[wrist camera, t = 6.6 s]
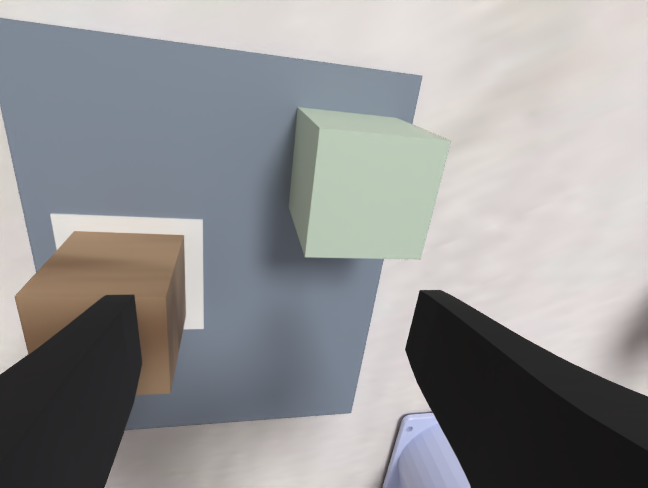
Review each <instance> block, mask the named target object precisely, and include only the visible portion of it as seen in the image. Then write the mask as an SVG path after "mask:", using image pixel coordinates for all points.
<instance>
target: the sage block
mask: <svg viewBox="0 0 648 488" xmlns="http://www.w3.org/2000/svg"><path fill="white" fill-rule="evenodd" d="M450 143H451V140H448V139H446V138H443V137H441V136H439V135H436V134H434V133H432V132H429V131H427V130H424V129H422V128H420V127H417V126H415V125H412V124H410V123H408V122H405V121H403V120H401V119H398V118H394V117H385V116H376V115H366V114H357V113H348V112H339V111H329V110H320V109H311V108H302V107H298V108H297V119H296V131H295V142H294V153H293V164H292V175H291V186H290V197H289V210H290V213H291V216H292V219H293V222H294V225H295V228H296V231H297V234H298V237H299V241H300V244H301V247H302V250H303V253H304V256H305V257H317V258H368V259H420V260H421V256H422V252H423V248H424V244H425V240H426V236H427V232H428V229H429V225H430V221H431V217H432V213H433V209H434V205H435V201H436V197H437V194H438V190H439V186H440V182H441V178H442V174H443V170H444V166H445V162H446V159H447V155H448V151H449V147H450Z"/></svg>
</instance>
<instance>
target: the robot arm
mask: <svg viewBox="0 0 648 488" xmlns="http://www.w3.org/2000/svg"><path fill="white" fill-rule="evenodd" d="M405 351H406V353H407V356H408V359H409V362H410V365H411V368H412V371H413V373H414V376H415V378H416V381H417V383H418V385H419V387H420V389H421V391H422V393H423V395H424V397H425V399H426V401H427V403H428V405H429V407H430V408H431V410H432V412H433V413H424V414H411V415H407V416H405V417H404V418H403V420H402V422H401V426H400V429H399V433H398V436H397V440H396V443H395V446H394V450H393V453H392V457H391V460H390V464H389V467H388V470H387V474H386V477H385V481H384V484H383V488H648V396H645V395H643V394H640V393H638V392H635V391H633V390H630V389H628V388H625V387H623V386H621V385H618V384H616V383H614V382H611V381H609V380H607V379H604V378H602V377H600V376H598V375H596V374H594V373H592V372H589V371H587V370H585V369H583V368H581V367H579V366H576V365H574V364H572V363H570V362H568V361H566V360H564V359H562V358H560V357H558V356H556V355H555V354H553V353H551V352H549V351H547V350H545V349H543V348H542V347H540V346H538V345H536V344H534V343H532V342H530V341H529V340H527V339H525V338H523V337H522V336H520V335H518V334H516V333H515V332H513V331H511V330H509V329H508V328H506V327H504V326H503V325H501V324H499V323H498V322H496V321H494V320H493V319H491V318H489V317H488V316H486V315H484V314H483V313H481V312H479V311H477V310H476V309H474V308H472V307H471V306H469V305H467V304H466V303H464V302H462V301H460V300H459V299H457V298H455V297H453V296H451V295H450V294H448V293H445V292H443V291H441V290H420V292H419V296H418V300H417V304H416V308H415V312H414V316H413V320H412V324H411V328H410V332H409V336H408V340H407V344H406V348H405ZM141 367H142V355H141V347H140V338H139V330H138V321H137V313H136V304H135V295H134V294H133V295H105V296H104V297H102V298H101V299H99V300H98V301H97V302H96V303H94V304H93V305H92V306H90V307H89V308H88V309H87V310H85V311H84V312H83V313H82V314H80V315H79V316H78V317H77V318H75V319H74V320H73V321H72V322H70V323H69V324H68V325H67V326H65V327H64V328H63V329H62V330H60V331H59V332H58V333H56V334H55V335H54V336H52V337H51V338H50V339H49V340H47V341H46V342H45V343H43V344H42V345H41V346H40V347H38V348H37V349H36V350H34V351H33V352H31V353H30V354H29V355H27V356H26V357H24V358H23V359H22V360H20V361H19V362H17V363H16V364H15V365H13V366H12V367H10V368H9V369H7V370H6V371H5V372H3V373H2V374H0V488H104V487H105V484H106V482H107V479H108V476H109V473H110V470H111V467H112V465H113V462H114V459H115V456H116V453H117V450H118V447H119V445H120V442H121V439H122V436H123V433H124V430H125V427H126V425H127V422H128V419H129V416H130V413H131V410H132V407H133V404H134V400H135V396H136V391H137V387H138V382H139V377H140V372H141Z"/></svg>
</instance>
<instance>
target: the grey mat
mask: <svg viewBox="0 0 648 488" xmlns="http://www.w3.org/2000/svg"><path fill="white" fill-rule="evenodd" d="M421 80H422V76H420V75H413V74H405V73H398V72H391V71H384V70H376V69H369V68H362V67H354V66H347V65H340V64H332V63H325V62H318V61H310V60H303V59H296V58H289V57H281V56H274V55H267V54H259V53H252V52H245V51H237V50H230V49H223V48H215V47H208V46H201V45H194V44H186V43H179V42H172V41H164V40H157V39H150V38H142V37H135V36H128V35H120V34H113V33H106V32H99V31H91V30H84V29H77V28H69V27H62V26H55V25H47V24H40V23H33V22H25V21H18V20H11V19H3V18H0V107H1V111H2V116H3V120H4V125H5V130H6V134H7V139H8V144H9V148H10V153H11V158H12V162H13V167H14V171H15V176H16V181H17V185H18V190H19V195H20V199H21V204H22V209H23V213H24V218H25V222H26V227H27V232H28V236H29V241H30V246H31V250H32V255H33V260H34V264H35V269H36V273H37V271H38V270H39V269H40V268H41V267H42V266H43V265H44V264H45V263H46V262H47V260H48V259H49V258H50V257H51V256H52V255H53V254H54V253H55V252H56V251H57V250H58V248H59V247H60V246H61V245H62V244H63V243H64V242H65V241H66V240H67V239H68V237H69V236H70V235H71V234H72V233H73V232H74V231H86V232H114V233H142V234H170V235H184V253H185V295H186V318H185V323H184V328H183V333H182V338H181V343H180V348H179V353H178V358H177V363H176V368H175V373H174V379H173V384H172V389H171V393H170V394H151V395H136V396H135V400H134V404H133V407H132V410H131V413H130V416H129V419H128V422H127V425H126V427H125V430H133V429H146V428H160V427H173V426H186V425H199V424H213V423H226V422H239V421H253V420H266V419H279V418H292V417H306V416H319V415H332V414H346V413H351V411H352V406H353V402H354V397H355V392H356V387H357V383H358V378H359V373H360V368H361V364H362V359H363V354H364V350H365V345H366V340H367V335H368V331H369V326H370V321H371V317H372V312H373V307H374V302H375V298H376V293H377V288H378V283H379V279H380V274H381V269H382V265H383V260H384V259H368V258H317V257H305V256H304V253H303V250H302V247H301V244H300V241H299V237H298V234H297V231H296V228H295V225H294V222H293V219H292V216H291V213H290V210H289V197H290V186H291V175H292V164H293V153H294V142H295V131H296V119H297V108H298V107H302V108H311V109H320V110H329V111H339V112H348V113H357V114H366V115H376V116H385V117H394V118H398V119H401V120H403V121H405V122H408V123H410V124H412V123H413V118H414V114H415V109H416V104H417V99H418V95H419V90H420V85H421Z"/></svg>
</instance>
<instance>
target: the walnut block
mask: <svg viewBox="0 0 648 488" xmlns="http://www.w3.org/2000/svg"><path fill="white" fill-rule="evenodd" d="M133 294H134V295H135V304H136V313H137V321H138V330H139V338H140V347H141V355H142V367H141V372H140V377H139V382H138V387H137V391H136V395H151V394H170V393H171V389H172V384H173V379H174V373H175V368H176V363H177V358H178V353H179V348H180V343H181V338H182V333H183V328H184V323H185V318H186V295H185V253H184V235H170V234H142V233H114V232H86V231H74V232H73V233H72V234H71V235H70V236H69V237H68V239H67V240H66V241H65V242H64V243H63V244H62V245H61V246H60V247H59V248H58V250H57V251H56V252H55V253H54V254H53V255H52V256H51V257H50V258H49V259H48V260H47V262H46V263H45V264H44V265H43V266H42V267H41V268H40V269H39V270H38V271H37V273H36V274H35V275H34V276H33V277H32V278H31V279H30V280H29V281H28V282H27V283H26V285H25V286H24V287H23V288H22V289H21V290H20V291H19V292H18V293H17V294H16V296H15V301H16V305H17V309H18V313H19V317H20V321H21V325H22V330H23V334H24V338H25V342H26V346H27V350H28V354H30V353H31V352H33V351H34V350H36V349H37V348H38V347H40V346H41V345H42V344H43V343H45V342H46V341H47V340H49V339H50V338H51V337H52V336H54V335H55V334H56V333H58V332H59V331H60V330H62V329H63V328H64V327H65V326H67V325H68V324H69V323H70V322H72V321H73V320H74V319H75V318H77V317H78V316H79V315H80V314H82V313H83V312H84V311H85V310H87V309H88V308H89V307H90V306H92V305H93V304H94V303H96V302H97V301H98V300H99V299H101V298H102V297H104V296H105V295H133Z"/></svg>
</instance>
